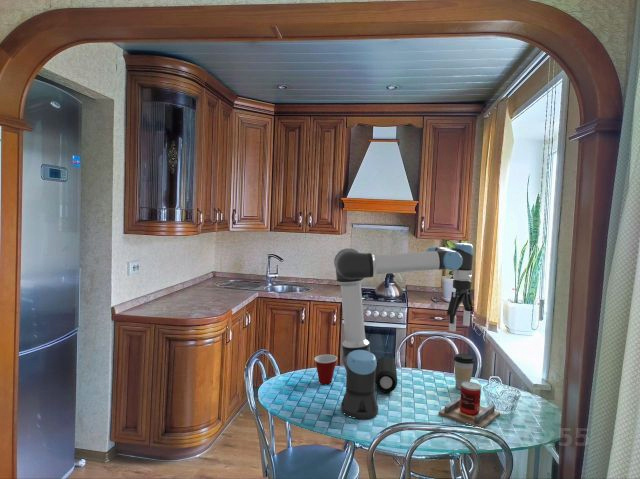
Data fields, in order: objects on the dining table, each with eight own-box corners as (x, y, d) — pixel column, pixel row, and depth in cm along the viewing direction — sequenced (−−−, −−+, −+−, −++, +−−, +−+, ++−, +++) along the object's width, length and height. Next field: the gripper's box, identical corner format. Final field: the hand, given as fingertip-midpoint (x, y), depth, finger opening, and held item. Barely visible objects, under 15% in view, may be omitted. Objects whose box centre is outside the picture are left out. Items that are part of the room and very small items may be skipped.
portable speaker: (375, 373, 234) (376, 354, 234) (395, 375, 233) (396, 355, 232) (374, 393, 209) (375, 371, 208) (397, 395, 208) (398, 373, 207)
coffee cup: (450, 388, 218) (451, 357, 217) (454, 382, 226) (456, 351, 225) (471, 393, 214) (473, 360, 213) (474, 386, 222) (476, 355, 221)
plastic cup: (310, 379, 223) (311, 354, 222) (331, 377, 226) (332, 353, 226) (317, 388, 213) (318, 362, 212) (339, 386, 216) (340, 360, 215)
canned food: (475, 407, 195) (476, 381, 194) (482, 416, 187) (484, 389, 186) (457, 407, 194) (458, 381, 194) (463, 415, 186) (465, 388, 186)
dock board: (481, 429, 178) (482, 420, 178) (438, 414, 190) (438, 405, 190) (500, 415, 191) (500, 406, 191) (458, 401, 203) (458, 393, 203)
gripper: (457, 283, 190) (454, 335, 191) (482, 278, 209) (479, 325, 210) (440, 280, 195) (437, 331, 196) (466, 275, 214) (463, 322, 215)
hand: (459, 328), depth 203 cm, fingers open, 13 cm apart
